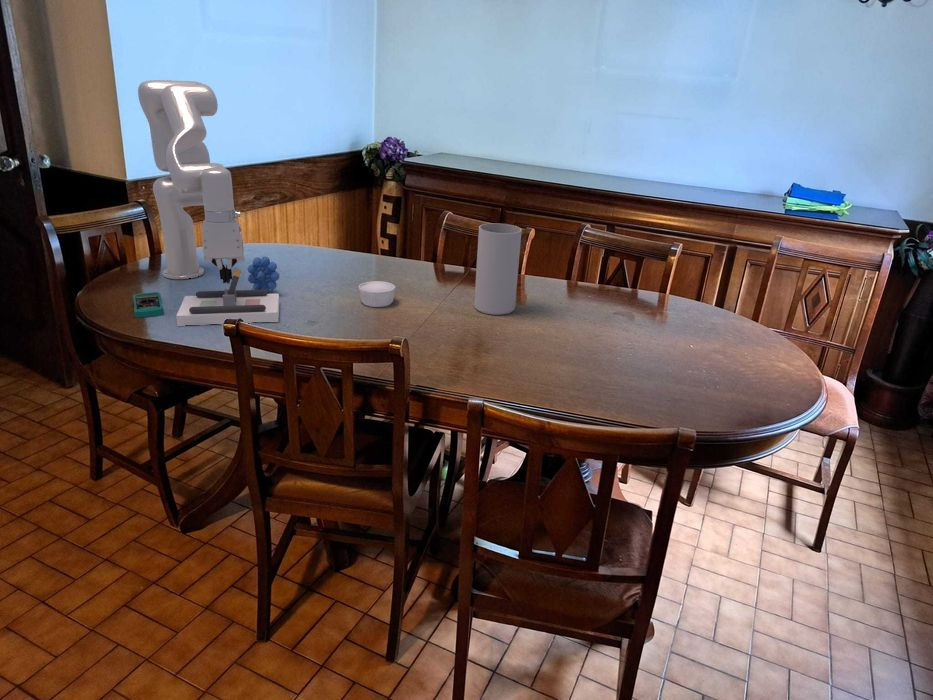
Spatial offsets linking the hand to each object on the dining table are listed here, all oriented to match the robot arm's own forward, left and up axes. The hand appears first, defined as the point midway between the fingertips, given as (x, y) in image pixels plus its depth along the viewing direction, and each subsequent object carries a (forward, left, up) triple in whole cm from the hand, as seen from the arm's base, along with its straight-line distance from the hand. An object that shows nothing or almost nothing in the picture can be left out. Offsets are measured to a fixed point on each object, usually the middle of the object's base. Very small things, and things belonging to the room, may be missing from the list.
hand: (226, 281), depth 180 cm
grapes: (-18, +9, -10) cm, 23 cm away
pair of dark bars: (0, 0, -7) cm, 7 cm away
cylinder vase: (+3, +77, -10) cm, 78 cm away
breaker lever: (0, 0, -6) cm, 6 cm away
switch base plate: (0, 0, -10) cm, 10 cm away
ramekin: (-6, +42, -10) cm, 44 cm away
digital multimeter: (-7, -23, -10) cm, 26 cm away
